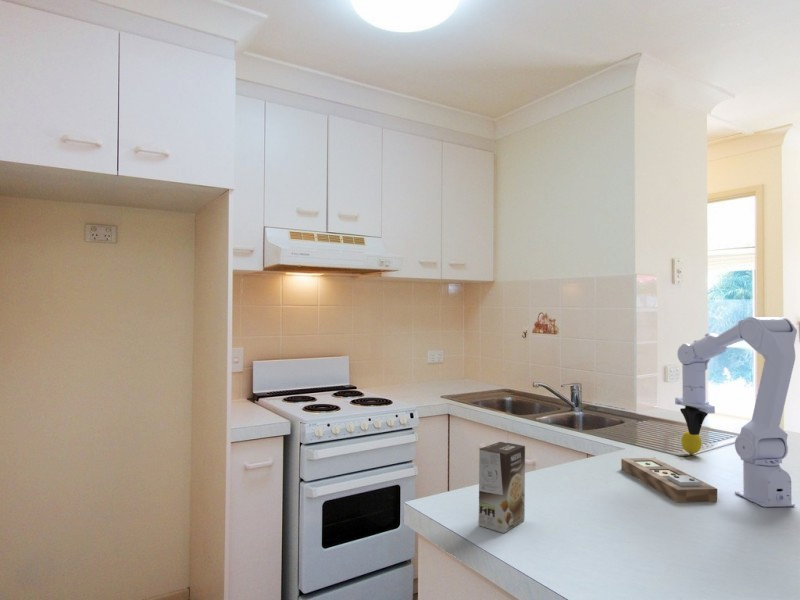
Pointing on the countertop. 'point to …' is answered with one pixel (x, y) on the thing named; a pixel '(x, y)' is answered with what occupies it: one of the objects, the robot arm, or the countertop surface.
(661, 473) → the button three
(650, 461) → the button one
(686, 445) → the lemon
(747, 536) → the countertop surface
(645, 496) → the countertop surface
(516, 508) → the coffee box
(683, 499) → the frame
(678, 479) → the button two
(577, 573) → the countertop surface
